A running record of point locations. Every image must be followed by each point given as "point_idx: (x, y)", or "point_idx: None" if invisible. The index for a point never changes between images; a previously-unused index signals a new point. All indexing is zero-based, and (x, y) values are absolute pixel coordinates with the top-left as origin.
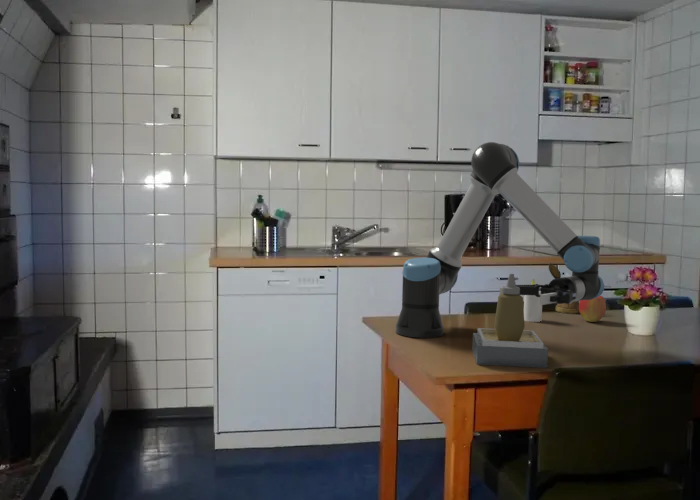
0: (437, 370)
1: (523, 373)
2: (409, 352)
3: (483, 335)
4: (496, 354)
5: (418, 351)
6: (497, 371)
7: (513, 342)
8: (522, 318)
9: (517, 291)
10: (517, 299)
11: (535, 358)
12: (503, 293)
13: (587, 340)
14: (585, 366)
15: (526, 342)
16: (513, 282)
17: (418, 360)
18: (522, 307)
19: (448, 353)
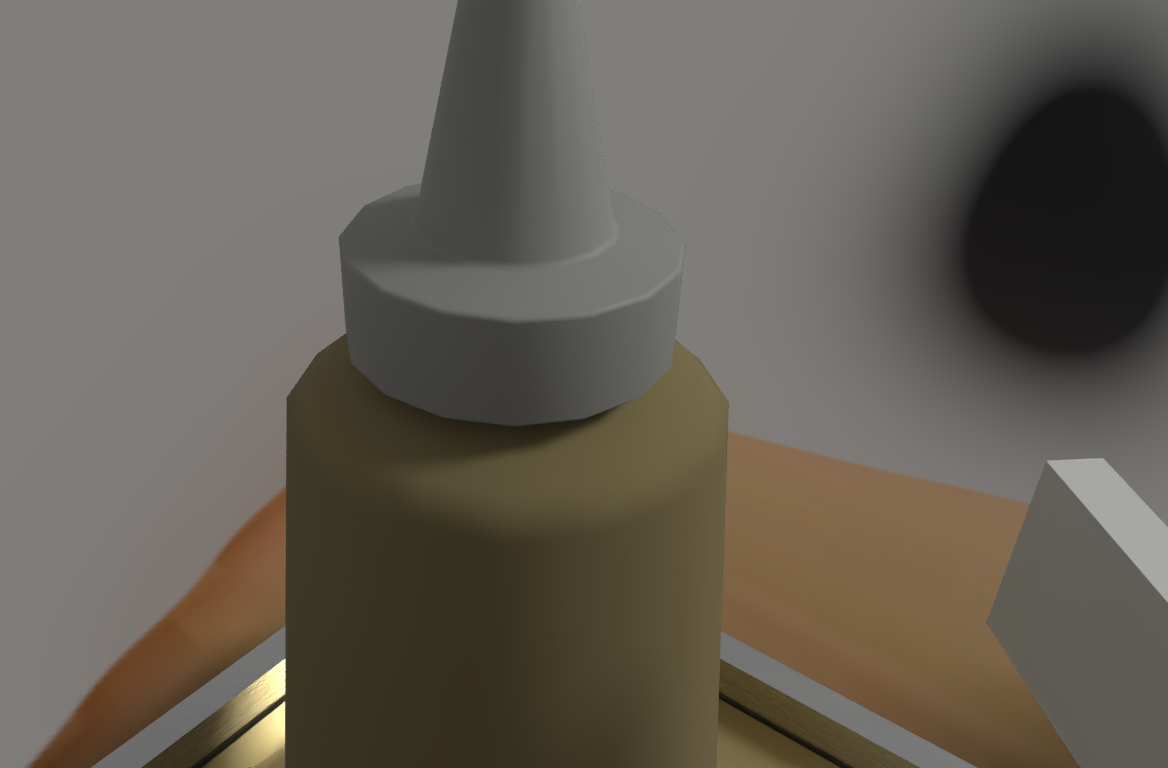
0: None
1: (58, 749)
2: (957, 491)
3: (805, 766)
4: None
5: (978, 540)
6: (254, 631)
7: (238, 664)
8: (287, 709)
9: (343, 283)
10: (303, 377)
11: None
12: (1046, 607)
13: None
14: None
15: (111, 754)
16: (438, 116)
17: (745, 440)
18: (287, 579)
19: (876, 663)
